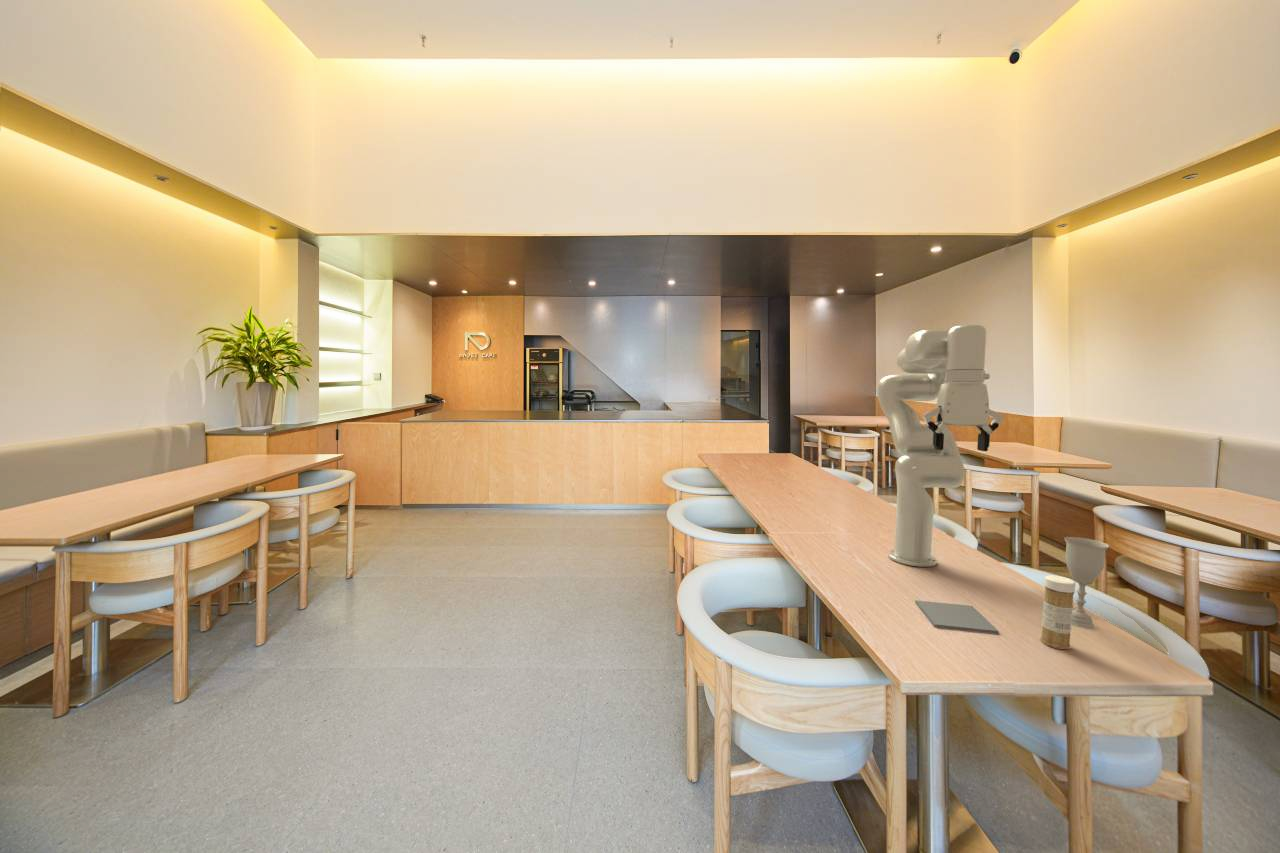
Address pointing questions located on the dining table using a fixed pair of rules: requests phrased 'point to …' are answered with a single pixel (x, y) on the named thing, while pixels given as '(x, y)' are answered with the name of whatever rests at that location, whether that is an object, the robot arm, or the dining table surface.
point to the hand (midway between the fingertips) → (960, 450)
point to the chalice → (1084, 571)
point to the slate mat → (955, 617)
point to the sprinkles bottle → (1057, 611)
